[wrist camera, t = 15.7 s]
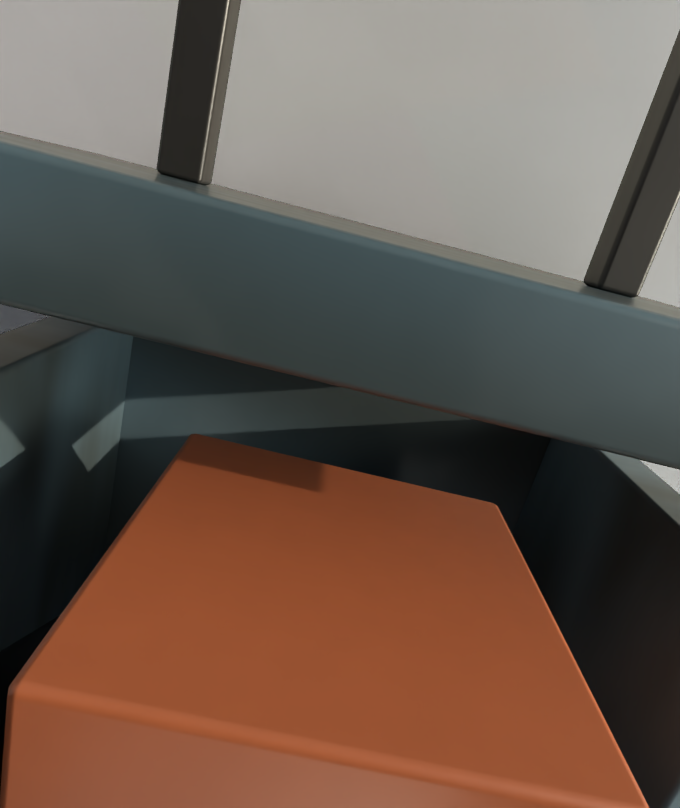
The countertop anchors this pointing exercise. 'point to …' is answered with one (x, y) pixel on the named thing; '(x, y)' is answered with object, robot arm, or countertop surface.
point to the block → (307, 656)
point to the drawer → (345, 375)
